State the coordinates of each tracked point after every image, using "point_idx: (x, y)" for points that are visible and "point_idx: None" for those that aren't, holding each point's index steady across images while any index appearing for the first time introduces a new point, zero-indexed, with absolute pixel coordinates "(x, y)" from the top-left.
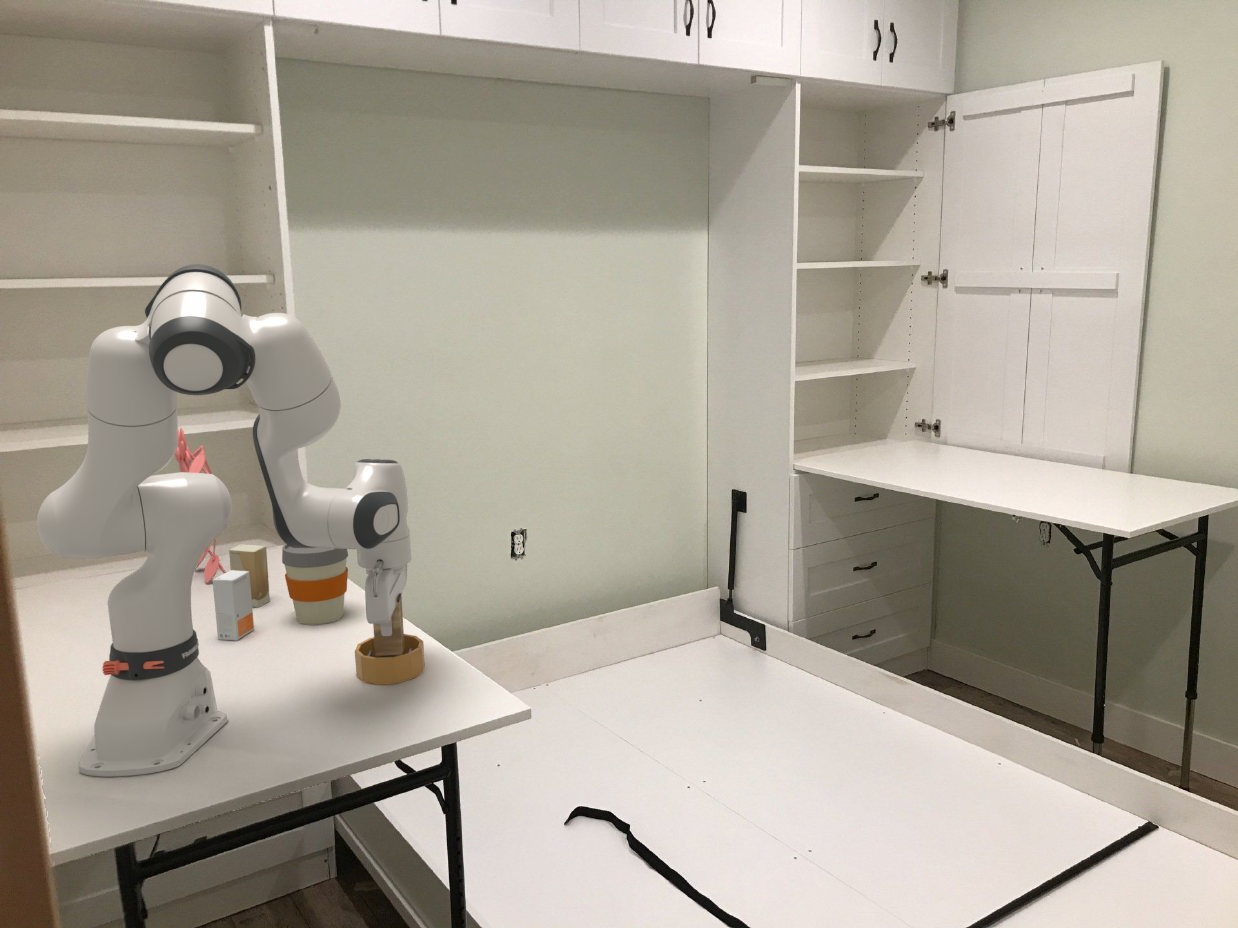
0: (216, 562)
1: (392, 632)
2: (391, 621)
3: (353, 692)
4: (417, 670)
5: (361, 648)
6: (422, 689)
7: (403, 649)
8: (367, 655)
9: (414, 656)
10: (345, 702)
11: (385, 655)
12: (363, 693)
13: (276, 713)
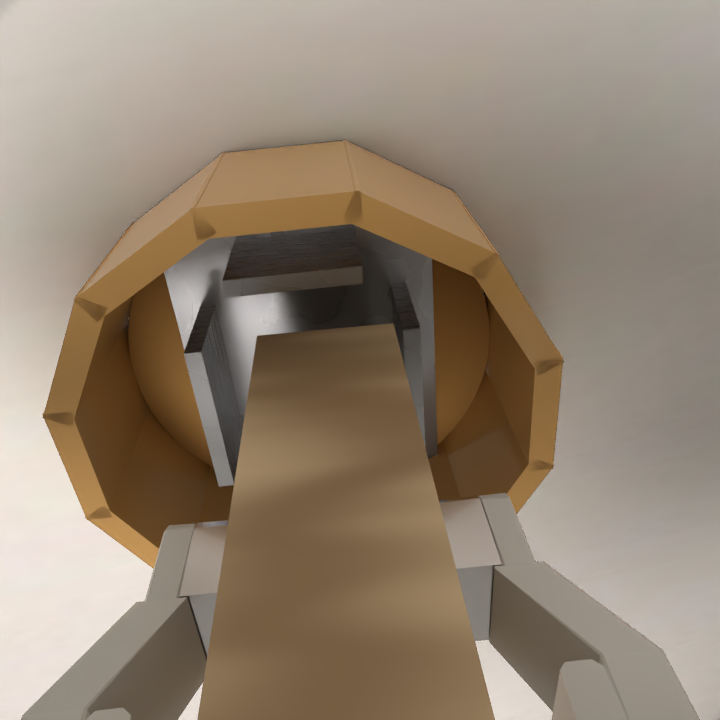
0: None
1: (470, 499)
2: (561, 601)
3: (579, 448)
4: (403, 173)
5: None
6: (634, 79)
7: (313, 335)
8: None
9: (442, 220)
10: (686, 450)
11: (232, 425)
12: (603, 404)
13: (705, 632)
